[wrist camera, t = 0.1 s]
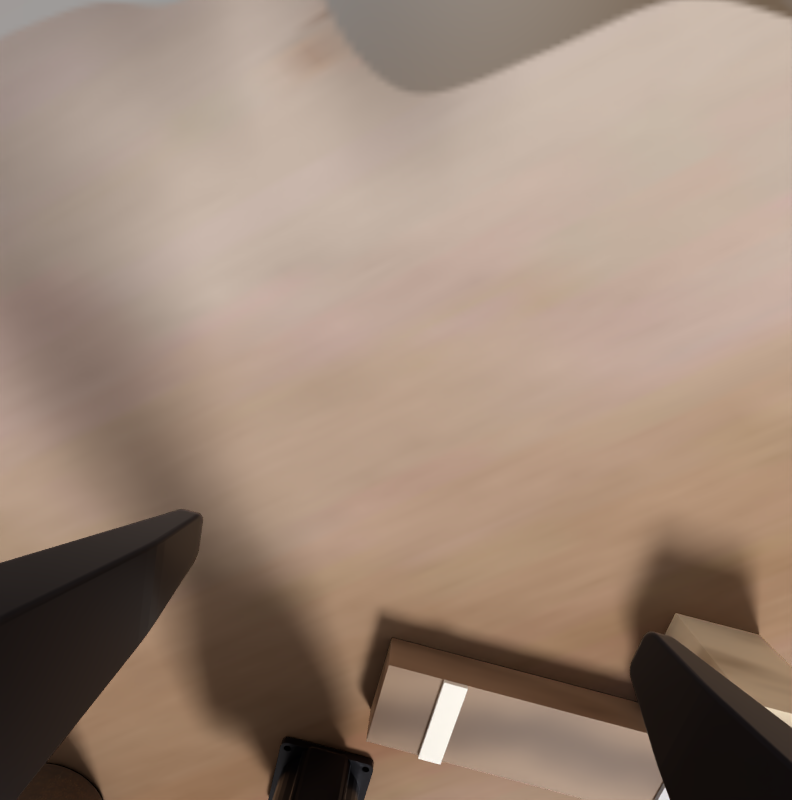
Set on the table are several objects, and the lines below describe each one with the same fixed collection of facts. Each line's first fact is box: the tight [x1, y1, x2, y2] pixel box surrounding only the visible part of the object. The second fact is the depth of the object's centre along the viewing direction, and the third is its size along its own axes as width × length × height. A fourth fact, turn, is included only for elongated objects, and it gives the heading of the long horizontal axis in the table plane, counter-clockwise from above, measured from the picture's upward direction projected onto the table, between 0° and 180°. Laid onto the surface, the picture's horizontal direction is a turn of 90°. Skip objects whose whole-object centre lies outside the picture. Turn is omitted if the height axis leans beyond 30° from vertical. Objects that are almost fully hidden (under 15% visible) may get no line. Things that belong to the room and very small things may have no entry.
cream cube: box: [635, 613, 792, 727], centre depth 22 cm, size 6×5×6 cm
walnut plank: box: [366, 638, 670, 800], centre depth 25 cm, size 6×28×2 cm, turn 76°
